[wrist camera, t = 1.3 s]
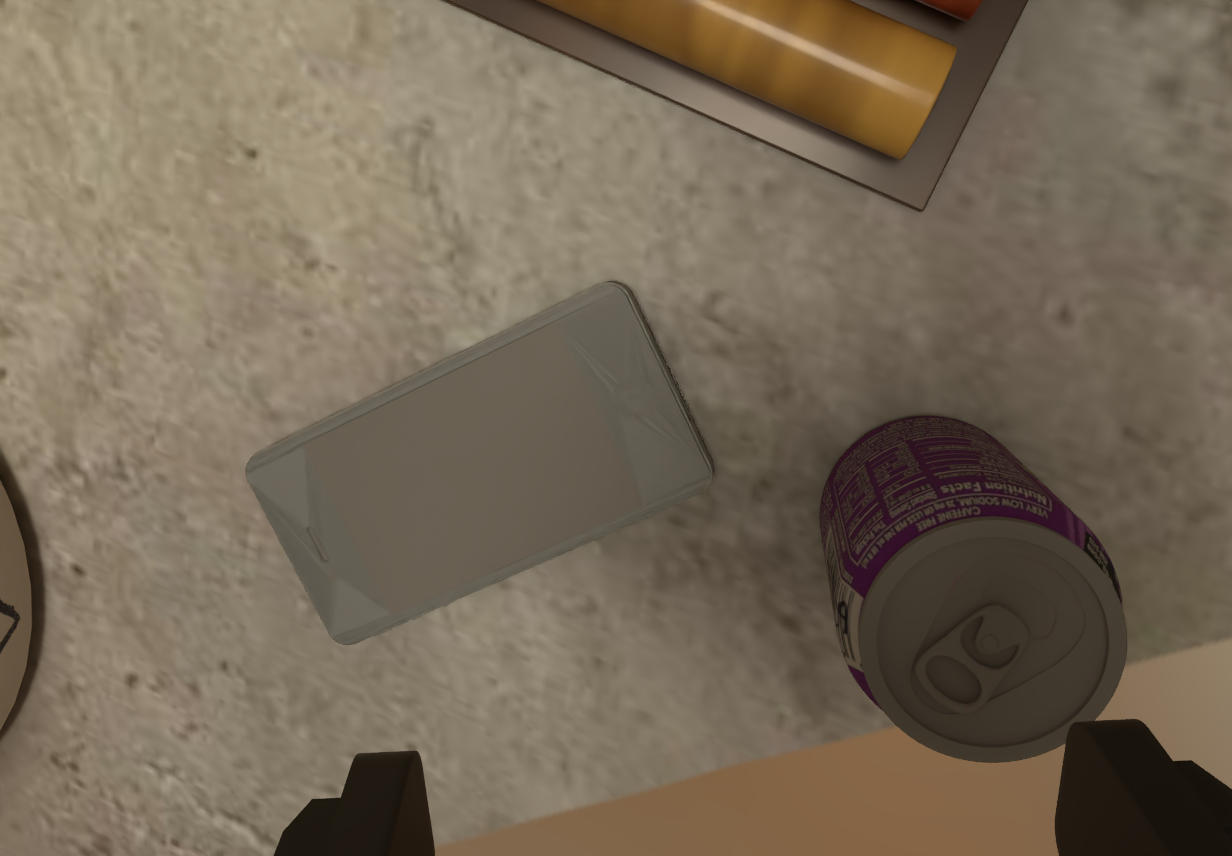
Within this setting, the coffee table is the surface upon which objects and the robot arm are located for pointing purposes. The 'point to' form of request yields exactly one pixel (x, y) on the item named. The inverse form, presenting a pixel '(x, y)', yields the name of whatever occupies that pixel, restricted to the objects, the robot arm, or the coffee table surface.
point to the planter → (12, 607)
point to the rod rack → (797, 70)
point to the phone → (482, 466)
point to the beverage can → (968, 592)
